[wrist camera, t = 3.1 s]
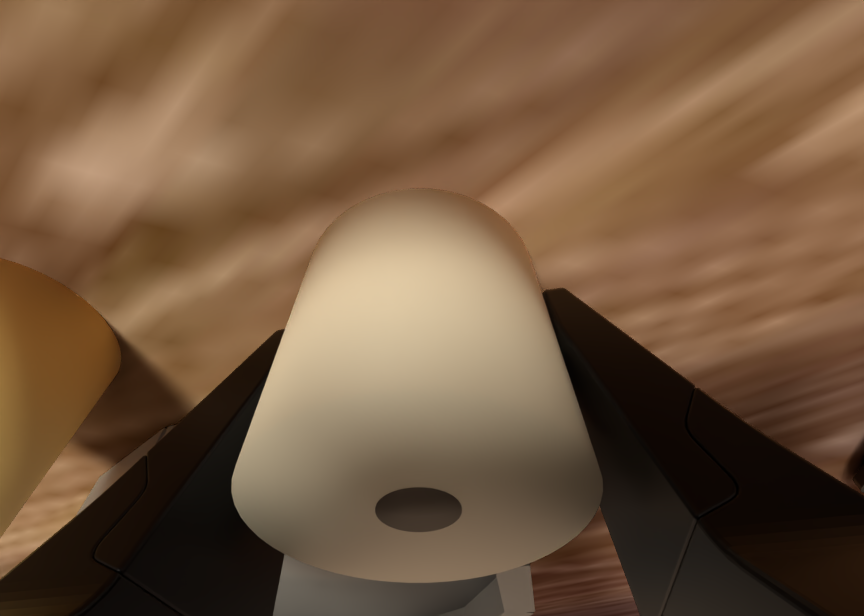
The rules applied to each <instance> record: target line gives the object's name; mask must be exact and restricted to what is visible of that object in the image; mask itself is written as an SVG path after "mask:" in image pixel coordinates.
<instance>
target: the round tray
mask: <svg viewBox="0 0 864 616" xmlns="http://www.w3.org/2000/svg"><path fill="white" fill-rule="evenodd" d="M175 426H176V425H173V426H168V428H167V429H166V428H163V429H162V430H160V431H159V432H158V433H156V434H155V435H154V436H153V437H151V438H150V439H149V440H147V441H146V442H145V443H143V444H142V445H141V446H139V447H138V448H137V449H136V450H134V451H133V452H132V453H130V454H129V455H128V456H126V457H125V458H124V459H123V460H121V461H120V462H119V463H117V464H116V465H115V466H113V467H112V468H111V469H109V470H108V471H107V472H106V473H104V474H103V475H102V476H100V477H99V479H98V481H97V482H96V484H95V485H94V487H93V489H92V490H91V492H90V494H89V495H88V497H87V499H86V500H85V502H84V504H83V505H82V507H81V508H80V510H79V512H78V513H77V515H78V514H79V513H80V512H81V511H83V510H84V509H85V508H86V507H87V506H88V505H90V504H91V503H92V502H93V501H94V500H95V499H97V498H98V497H99V496H100V495H101V494H102V493H103V492H104V491H106V490H107V489H108V488H109V487H110V486H111V485H112V484H113V483H114V482H115V481H117V480H118V479H119V478H120V477H121V476H122V475H123V474H124V473H125V472H126V471H128V470H129V469H130V468H131V467H132V466H133V465H134V464H135V463H136V462H137V461H138V460H139V459H140V458H141V457H142V456H144V455H146V456H147V452H148V451H149V450H150V449H151V448H152V447H153V446H154V445H155V444H156V443H157V442H159V441H160V440H161V439H162V438H163V437H164V436H165V435H166V434H167V433H168V432H169V431H170V430H171V429H172V428H174V427H175ZM77 515H76V516H77ZM534 612H535V606H534V597H533V587H532V578H531V569H530V563H529V564H526V565H523V566H521V567H518V568H515V569H511V570H508V571H505V572H501V573H497V574H492V575H488V576H484V577H478V578H472V579H466V580H457V581H448V582H432V583H404V582H387V581H377V580H369V579H363V578H356V577H351V576H346V575H342V574H337V573H333V572H330V571H327V570H323V569H320V568H317V567H314V566H311V565H308V564H306V563H303V562H300V561H298V560H296V559H294V558H292V557H290V556H287V555H284V560H283V565H282V571H281V576H280V581H279V586H278V591H277V597H276V602H275V607H274V612H273V616H531V615H532V614H534Z"/></svg>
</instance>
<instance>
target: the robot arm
mask: <svg viewBox="0 0 864 616" xmlns="http://www.w3.org/2000/svg"><path fill="white" fill-rule="evenodd" d="M542 295H543V298H544V301H545V304H546V307H547V310H548V313H549V316H550V319H551V322H552V325H553V328H554V331H555V334H556V337H557V340H558V343H559V346H560V350H561V353H562V356H563V359H564V362H565V365H566V368H567V371H568V374H569V377H570V380H571V383H572V386H573V389H574V392H575V395H576V398H577V401H578V404H579V407H580V410H581V413H582V416H583V419H584V422H585V425H586V428H587V431H588V434H589V437H590V440H591V443H592V446H593V449H594V453H595V456H596V459H597V462H598V465H599V468H600V471H601V475H602V478H603V494H602V498H601V503H600V508H601V511H602V514H603V516H604V519H605V522H606V524H607V527H608V530H609V532H610V535H611V538H612V541H613V543H614V546H615V549H616V551H617V554H618V557H619V559H620V562H621V565H622V567H623V570H624V573H625V576H626V578H627V581H628V584H629V586H630V589H631V592H632V594H633V597H634V600H635V603H636V605H637V608H638V611H639V613H640V616H864V496H863V495H862V494H860V493H858V492H857V491H855V490H854V489H852V488H850V487H849V486H847V485H846V484H844V483H842V482H841V481H839V480H837V479H836V478H834V477H833V476H831V475H829V474H828V473H826V472H824V471H823V470H821V469H820V468H818V467H816V466H815V465H813V464H812V463H810V462H808V461H807V460H805V459H803V458H802V457H800V456H799V455H797V454H795V453H794V452H792V451H790V450H789V449H787V448H786V447H784V446H782V445H781V444H779V443H778V442H776V441H775V440H773V439H771V438H770V437H768V436H767V435H765V434H764V433H762V432H761V431H759V430H758V429H756V428H754V427H753V426H751V425H750V424H748V423H747V422H745V421H744V420H742V419H741V418H740V417H738V416H737V415H735V414H734V413H732V412H731V411H730V410H728V409H727V408H725V407H724V406H723V405H721V404H720V403H718V402H717V401H716V400H714V399H713V398H712V397H710V396H709V395H708V394H706V393H705V392H703V391H702V390H701V389H699V388H695V386H694V384H692V383H691V382H690V381H688V380H687V379H686V378H684V377H683V376H682V375H680V374H679V373H678V372H676V371H675V370H674V369H672V368H671V367H670V366H668V365H667V364H666V363H664V362H663V361H662V360H660V359H659V358H658V357H656V356H655V355H654V354H652V353H651V352H650V351H648V350H647V349H646V348H644V347H643V346H642V345H640V344H639V343H637V342H636V341H635V340H633V339H632V338H631V337H629V336H628V335H627V334H625V333H624V332H623V331H621V330H620V329H619V328H617V327H616V326H615V325H613V324H612V323H611V322H609V321H608V320H607V319H605V318H604V317H603V316H601V315H600V314H599V313H597V312H596V311H595V310H593V309H592V308H591V307H589V306H588V305H587V304H585V303H584V302H583V301H581V300H580V299H579V298H577V297H576V296H574V295H573V294H572V293H570V292H569V291H568V290H566V289H565V288H556V289H550V290H545V291H544V292H543V294H542ZM284 331H285V329H281V330H278V331H276V332H275V333H274V334H273V335H272V336H271V337H269V338H268V339H267V340H266V341H265V342H264V343H263V344H262V345H261V346H260V347H259V348H258V349H257V350H256V351H255V352H253V353H252V354H251V355H250V356H249V357H248V358H247V359H246V360H245V361H244V362H243V363H242V364H241V365H240V366H239V367H238V368H236V369H235V370H234V371H233V372H232V373H231V374H230V375H229V376H228V377H227V378H226V379H225V380H224V381H223V382H222V383H220V384H219V385H218V386H217V387H216V388H215V389H214V390H213V391H212V392H211V393H210V394H209V395H208V396H207V397H206V398H204V399H203V400H202V401H201V402H200V403H199V404H198V405H197V406H196V407H195V408H194V409H193V410H192V411H191V412H190V413H188V414H187V415H186V416H185V417H184V418H183V419H182V420H181V421H180V422H179V423H178V424H177V425H176V426H175V427H174V428H172V429H171V430H170V431H169V432H168V433H167V434H166V435H165V436H164V437H163V438H162V439H161V440H160V441H159V442H157V443H156V444H155V445H154V446H153V447H152V448H151V449H150V450H149V451H148V452H147V456H146V455H144V456H142V457H141V458H140V459H139V460H138V461H137V462H136V463H135V464H134V465H133V466H132V467H131V468H130V469H129V470H128V471H126V472H125V473H124V474H123V475H122V476H121V477H120V478H119V479H118V480H117V481H115V482H114V483H113V484H112V485H111V486H110V487H109V488H108V489H107V490H106V491H104V492H103V493H102V494H101V495H100V496H99V497H98V498H97V499H95V500H94V501H93V502H92V503H91V504H90V505H88V506H87V507H86V508H85V509H84V510H83V511H81V512H80V513H79V514H78V515H77V516H75V517H74V518H73V519H72V520H71V521H70V522H68V523H67V524H66V525H65V526H64V527H62V528H61V529H60V530H59V531H58V532H56V533H55V534H54V535H53V536H52V537H50V538H49V539H48V540H47V541H46V542H44V543H43V544H42V545H41V546H40V547H38V548H37V549H36V550H35V551H34V552H32V553H31V554H30V555H29V556H28V557H26V558H25V559H24V560H23V561H22V562H20V563H19V564H18V565H17V566H16V567H14V568H13V569H12V570H11V571H10V572H8V573H7V574H6V575H5V576H4V577H2V578H1V579H0V616H273V612H274V607H275V602H276V597H277V591H278V586H279V581H280V576H281V571H282V565H283V560H284V555H285V554H284V553H282V552H280V551H278V550H277V549H275V548H273V547H272V546H270V545H269V544H268V543H266V542H265V541H263V540H262V539H261V538H259V537H258V536H257V535H256V534H255V533H254V532H253V531H252V530H251V529H250V528H249V527H248V526H247V524H246V523H245V522H244V521H243V519H242V518H241V517H240V515H239V513H238V511H237V509H236V507H235V505H234V501H233V497H232V492H231V487H232V476H233V473H234V469H235V466H236V463H237V460H238V457H239V455H240V452H241V449H242V446H243V444H244V441H245V438H246V435H247V433H248V430H249V427H250V424H251V422H252V419H253V416H254V413H255V411H256V408H257V405H258V402H259V400H260V397H261V394H262V391H263V389H264V386H265V383H266V380H267V378H268V375H269V372H270V369H271V367H272V364H273V361H274V358H275V356H276V353H277V350H278V347H279V345H280V342H281V339H282V336H283V334H284ZM694 388H695V389H694ZM853 481H854V482H855V484H856V485H857V486H858V487H859V489H860V490H861V491H862V492H864V464H863V465H862V467H861V468H860V469H859V471H858V472H857V473H856V475H855V476H854V478H853Z"/></svg>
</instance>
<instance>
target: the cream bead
mask: <svg viewBox="0 0 864 616" xmlns="http://www.w3.org/2000/svg"><path fill="white" fill-rule="evenodd" d="M231 492H232V497H233V501H234V505H235V507H236V509H237V511H238V513H239V515H240V517H241V518H242V519H243V521H244V522H245V523H246V524H247V526H248V527H249V528H250V529H251V530H252V531H253V532H254V533H255V534H256V535H257V536H258V537H259V538H261V539H262V540H263V541H265V542H266V543H268V544H269V545H270V546H272V547H273V548H275V549H277V550H278V551H280V552H282V553H284V554H285V555H287V556H290V557H292V558H294V559H296V560H298V561H300V562H303V563H306V564H308V565H311V566H314V567H317V568H320V569H323V570H327V571H330V572H333V573H337V574H342V575H346V576H351V577H356V578H363V579H369V580H377V581H387V582H404V583H432V582H448V581H457V580H466V579H472V578H478V577H484V576H488V575H492V574H497V573H501V572H505V571H508V570H511V569H515V568H518V567H521V566H523V565H526V564H529V563H531V562H534V561H536V560H538V559H540V558H543V557H545V556H547V555H549V554H551V553H553V552H554V551H556V550H558V549H559V548H561V547H563V546H564V545H566V544H567V543H568V542H570V541H571V540H572V539H574V538H575V537H576V536H577V535H578V534H579V533H580V532H581V531H582V530H583V529H584V528H585V527H586V526H587V525H588V524H589V522H590V521H591V520H592V518H593V517H594V516H595V514H596V512H597V510H598V507H599V505H600V503H601V498H602V494H603V478H602V475H601V471H600V468H599V465H598V462H597V459H596V456H595V453H594V449H593V446H592V443H591V440H590V437H589V434H588V431H587V428H586V425H585V422H584V419H583V416H582V413H581V410H580V407H579V404H578V401H577V398H576V395H575V392H574V389H573V386H572V383H571V380H570V377H569V374H568V371H567V368H566V365H565V362H564V359H563V356H562V353H561V350H560V346H559V343H558V340H557V337H556V334H555V331H554V328H553V325H552V322H551V319H550V316H549V313H548V310H547V307H546V304H545V301H544V298H543V295H542V292H541V289H540V286H539V283H538V280H537V277H536V274H535V271H534V268H533V265H532V262H531V259H530V256H529V253H528V250H527V248H526V246H525V244H524V242H523V240H522V239H521V237H520V236H519V235H518V233H517V232H516V230H515V229H514V228H513V227H512V226H511V225H510V224H509V223H508V222H507V221H506V220H505V219H504V218H503V217H502V216H500V215H499V214H498V213H497V212H495V211H494V210H493V209H491V208H489V207H488V206H486V205H484V204H482V203H481V202H479V201H476V200H474V199H471V198H469V197H467V196H464V195H461V194H457V193H453V192H449V191H444V190H437V189H419V188H412V189H404V190H395V191H391V192H387V193H383V194H379V195H377V196H374V197H371V198H369V199H366V200H364V201H362V202H360V203H358V204H357V205H355V206H353V207H351V208H350V209H348V210H347V211H346V212H344V213H343V214H342V215H340V216H339V217H338V218H337V219H336V220H335V221H334V222H333V223H332V224H331V225H330V226H329V227H328V228H327V229H326V231H325V232H324V233H323V235H322V236H321V237H320V239H319V241H318V243H317V245H316V247H315V249H314V251H313V254H312V256H311V259H310V262H309V265H308V268H307V270H306V273H305V276H304V279H303V281H302V284H301V287H300V290H299V292H298V295H297V298H296V301H295V303H294V306H293V309H292V312H291V314H290V317H289V320H288V323H287V325H286V328H285V331H284V334H283V336H282V339H281V342H280V345H279V347H278V350H277V353H276V356H275V358H274V361H273V364H272V367H271V369H270V372H269V375H268V378H267V380H266V383H265V386H264V389H263V391H262V394H261V397H260V400H259V402H258V405H257V408H256V411H255V413H254V416H253V419H252V422H251V424H250V427H249V430H248V433H247V435H246V438H245V441H244V444H243V446H242V449H241V452H240V455H239V457H238V460H237V463H236V466H235V469H234V473H233V476H232V487H231Z"/></svg>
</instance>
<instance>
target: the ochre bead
mask: <svg viewBox="0 0 864 616" xmlns="http://www.w3.org/2000/svg"><path fill="white" fill-rule="evenodd" d="M120 364H121V351H120V346H119V344H118V341H117V338H116V336H115V335H114V333H113V331H112V329H111V328H110V326H109V325H108V324H107V322H106V321H105V320H104V318H103V317H102V316H101V315H100V314H99V313H98V312H97V311H96V310H95V309H94V308H93V307H92V306H91V305H90V304H89V303H87V302H86V301H85V300H84V299H83V298H81V297H80V296H79V295H77V294H76V293H75V292H73V291H72V290H70V289H69V288H67V287H66V286H64V285H62V284H61V283H59V282H57V281H56V280H54V279H52V278H50V277H48V276H46V275H44V274H42V273H40V272H38V271H36V270H33V269H31V268H29V267H26V266H23V265H20V264H18V263H15V262H12V261H8V260H5V259H1V258H0V538H1V536H2V535H3V534H4V532H5V531H6V529H7V528H8V527H9V525H10V524H11V522H12V521H13V519H14V518H15V517H16V515H17V514H18V512H19V511H20V510H21V508H22V507H23V505H24V504H25V503H26V501H27V500H28V498H29V497H30V496H31V494H32V493H33V491H34V490H35V489H36V487H37V486H38V484H39V483H40V482H41V480H42V479H43V477H44V476H45V475H46V473H47V472H48V470H49V469H50V467H51V466H52V465H53V463H54V462H55V460H56V459H57V458H58V456H59V455H60V453H61V452H62V451H63V449H64V448H65V446H66V445H67V444H68V442H69V441H70V439H71V438H72V437H73V435H74V434H75V432H76V431H77V430H78V428H79V427H80V425H81V424H82V423H83V421H84V420H85V418H86V417H87V415H88V414H89V413H90V411H91V410H92V408H93V407H94V406H95V404H96V403H97V401H98V400H99V399H100V397H101V396H102V394H103V393H104V392H105V390H106V389H107V387H108V386H109V385H110V383H111V382H112V380H113V379H114V378H115V376H116V375H117V373H118V371H119V369H120Z"/></svg>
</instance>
